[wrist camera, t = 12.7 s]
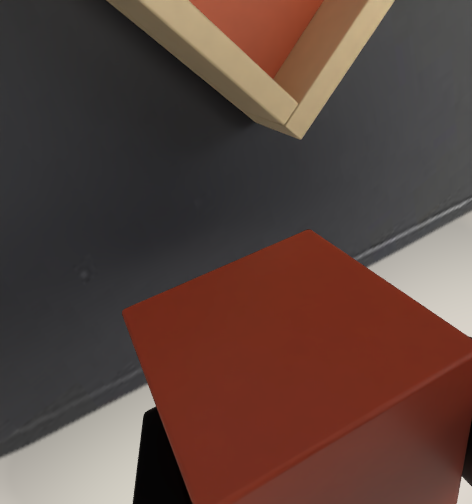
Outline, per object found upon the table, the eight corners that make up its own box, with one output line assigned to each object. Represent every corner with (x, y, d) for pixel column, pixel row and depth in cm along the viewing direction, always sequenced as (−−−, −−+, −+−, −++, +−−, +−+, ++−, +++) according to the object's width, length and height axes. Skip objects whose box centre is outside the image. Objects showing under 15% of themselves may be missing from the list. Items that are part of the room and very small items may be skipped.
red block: (179, 440, 11) (261, 646, 7) (119, 309, 8) (198, 521, 5) (325, 361, 12) (458, 504, 8) (309, 226, 10) (487, 346, 6)
